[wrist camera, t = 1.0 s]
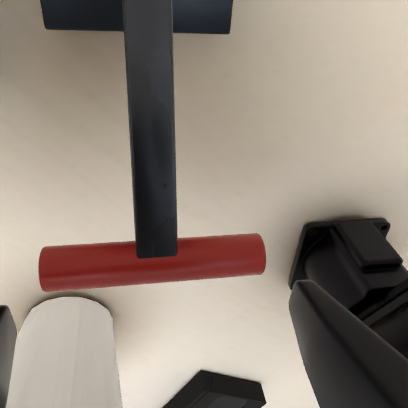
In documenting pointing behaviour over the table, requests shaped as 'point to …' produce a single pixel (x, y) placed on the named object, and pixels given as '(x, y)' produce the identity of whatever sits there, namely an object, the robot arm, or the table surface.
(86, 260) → the lever
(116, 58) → the table surface
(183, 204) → the table surface
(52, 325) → the cup
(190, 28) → the bracket
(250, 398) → the vhs tape
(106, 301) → the table surface
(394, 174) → the table surface
